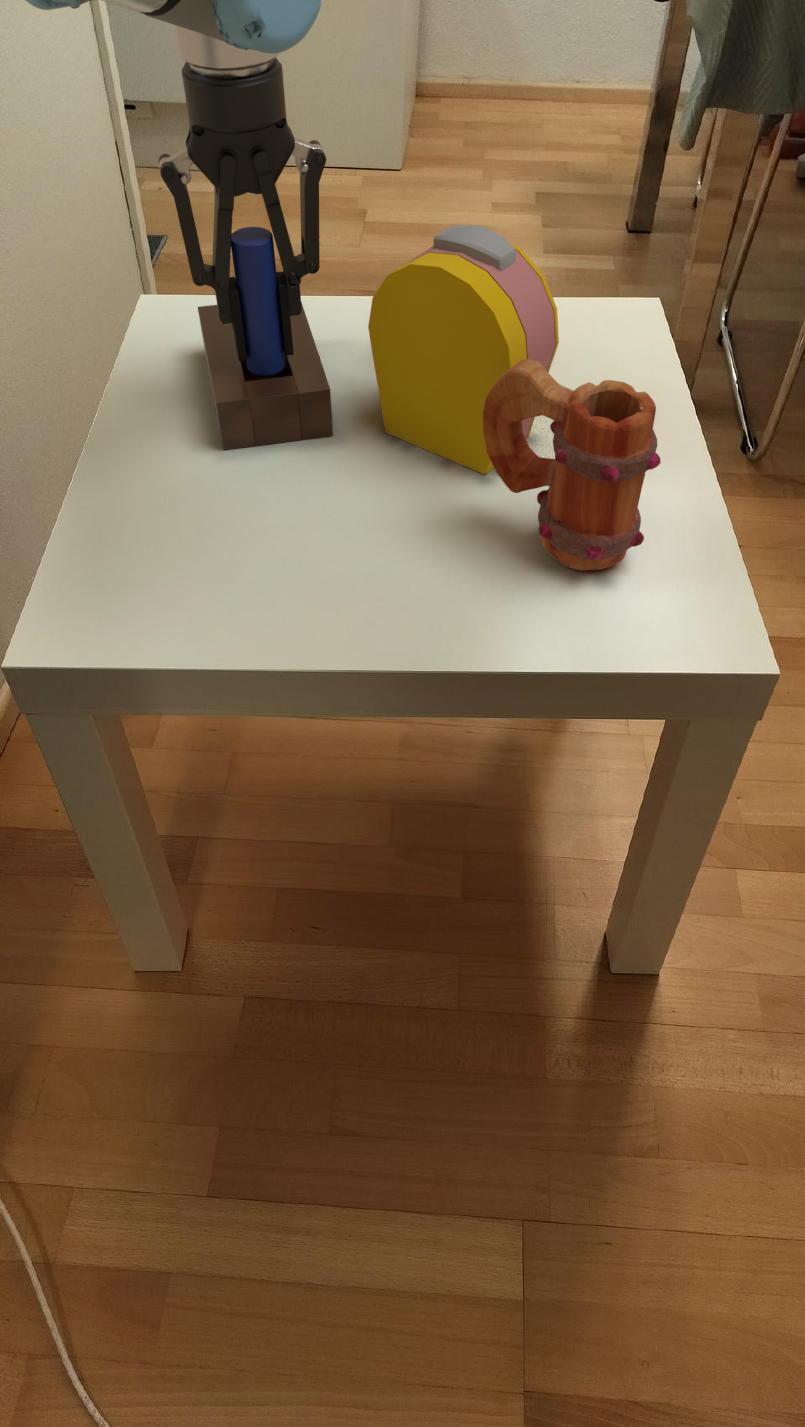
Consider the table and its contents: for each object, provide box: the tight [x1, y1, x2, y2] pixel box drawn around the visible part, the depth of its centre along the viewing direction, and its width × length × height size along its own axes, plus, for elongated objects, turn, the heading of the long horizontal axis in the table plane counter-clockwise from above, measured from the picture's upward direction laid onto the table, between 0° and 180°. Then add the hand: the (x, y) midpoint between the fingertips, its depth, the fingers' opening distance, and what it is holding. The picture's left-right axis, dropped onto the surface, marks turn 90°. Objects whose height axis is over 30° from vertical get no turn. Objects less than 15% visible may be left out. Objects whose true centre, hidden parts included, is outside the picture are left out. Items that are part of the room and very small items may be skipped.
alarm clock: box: [367, 224, 560, 476], centre depth 88 cm, size 15×8×18 cm, turn 54°
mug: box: [483, 359, 662, 571], centre depth 79 cm, size 15×8×15 cm, turn 58°
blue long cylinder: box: [231, 226, 286, 376], centre depth 89 cm, size 4×4×12 cm
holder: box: [197, 301, 334, 451], centre depth 98 cm, size 10×18×5 cm, turn 13°
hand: (264, 349), depth 92 cm, fingers closed on blue long cylinder, 4 cm apart
